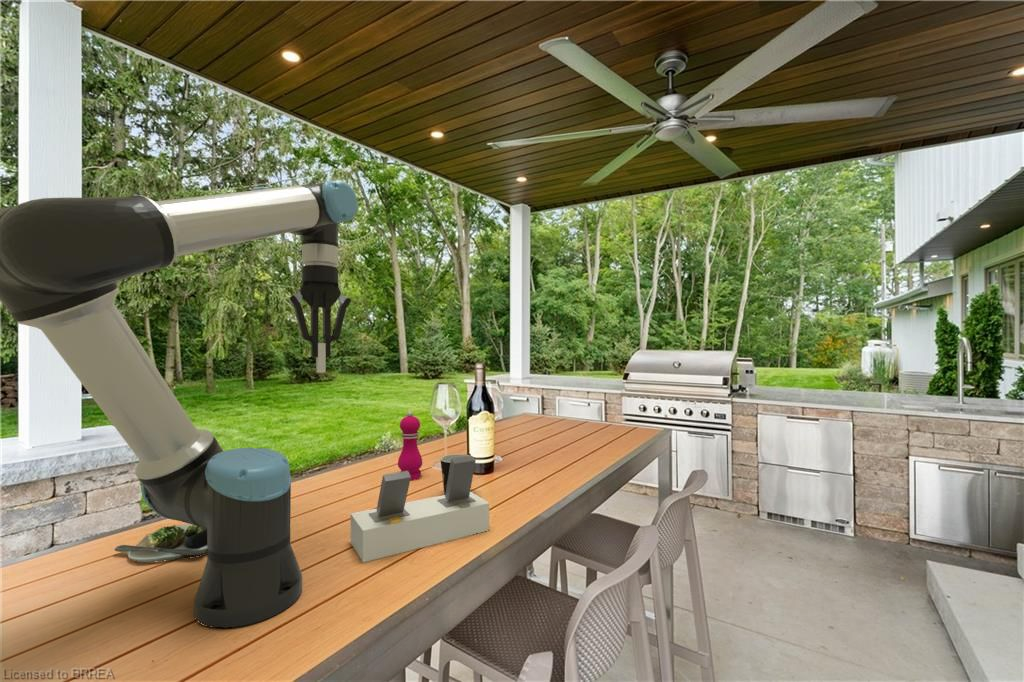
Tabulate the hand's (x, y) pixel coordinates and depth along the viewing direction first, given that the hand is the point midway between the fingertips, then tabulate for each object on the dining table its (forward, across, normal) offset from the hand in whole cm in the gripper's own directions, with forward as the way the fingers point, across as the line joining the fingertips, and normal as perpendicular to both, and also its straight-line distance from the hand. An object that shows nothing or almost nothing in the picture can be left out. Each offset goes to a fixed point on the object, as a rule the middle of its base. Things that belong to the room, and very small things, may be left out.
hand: (321, 372), depth 104 cm
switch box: (+34, -17, +17) cm, 42 cm away
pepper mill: (+35, -29, -24) cm, 51 cm away
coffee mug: (+35, -35, -3) cm, 49 cm away
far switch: (+28, -25, +17) cm, 41 cm away
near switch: (+28, -10, +17) cm, 35 cm away
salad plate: (+35, +25, -5) cm, 43 cm away
